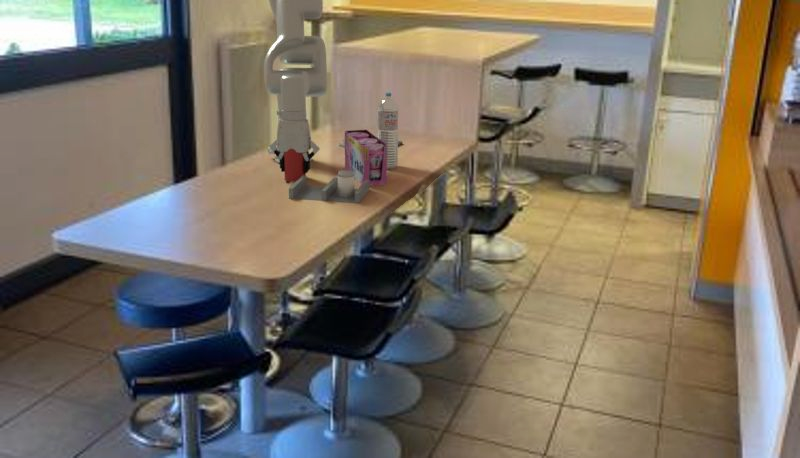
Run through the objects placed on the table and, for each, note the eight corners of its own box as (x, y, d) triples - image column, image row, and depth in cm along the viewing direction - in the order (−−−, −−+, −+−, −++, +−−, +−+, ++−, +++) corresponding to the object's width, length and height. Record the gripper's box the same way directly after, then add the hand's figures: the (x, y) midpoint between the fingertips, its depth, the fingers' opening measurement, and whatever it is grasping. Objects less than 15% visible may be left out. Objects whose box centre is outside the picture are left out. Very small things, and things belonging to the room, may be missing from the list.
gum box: (388, 188, 249) (389, 145, 245) (364, 190, 247) (364, 147, 242) (366, 169, 271) (367, 129, 266) (344, 170, 268) (343, 130, 264)
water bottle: (398, 164, 276) (399, 91, 268) (396, 169, 270) (397, 95, 262) (378, 163, 277) (379, 90, 269) (376, 169, 271) (376, 94, 262)
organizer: (289, 201, 235) (288, 188, 234) (302, 188, 248) (302, 175, 247) (358, 206, 232) (359, 193, 230) (369, 192, 245) (369, 180, 243)
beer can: (301, 184, 251) (301, 147, 247) (281, 183, 253) (280, 145, 249) (308, 179, 258) (307, 142, 254) (288, 177, 259) (287, 140, 255)
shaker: (335, 196, 237) (335, 173, 234) (339, 192, 241) (339, 169, 239) (352, 198, 236) (352, 174, 234) (356, 193, 241) (356, 170, 238)
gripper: (262, 116, 246) (264, 172, 252) (317, 119, 243) (318, 176, 249) (270, 111, 253) (272, 166, 259) (324, 114, 250) (324, 170, 256)
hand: (295, 171), depth 254 cm, fingers closed on beer can, 6 cm apart
